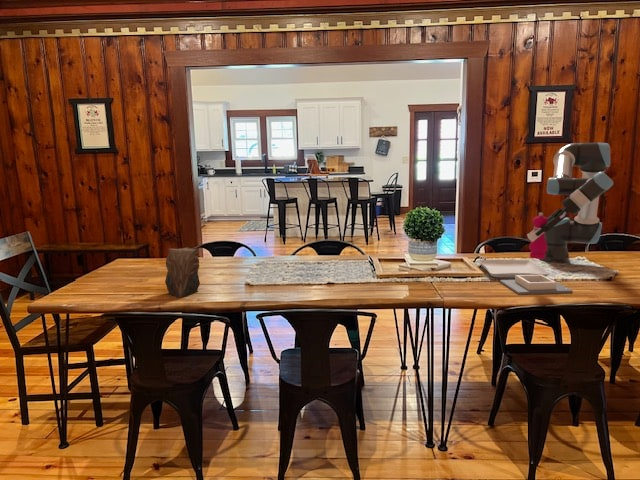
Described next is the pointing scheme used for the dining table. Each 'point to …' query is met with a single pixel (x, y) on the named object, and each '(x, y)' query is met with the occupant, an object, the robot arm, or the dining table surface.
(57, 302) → the dining table surface
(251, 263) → the dining table surface
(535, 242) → the pepper mill
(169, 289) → the owl
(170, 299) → the dining table surface
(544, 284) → the caddy
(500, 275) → the square plate
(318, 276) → the dining table surface
